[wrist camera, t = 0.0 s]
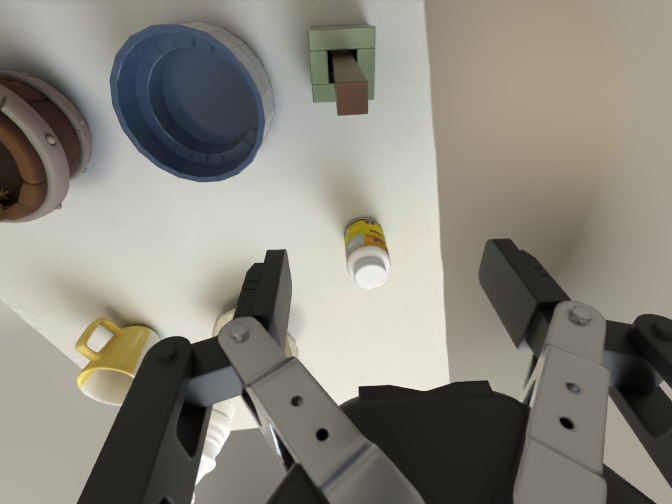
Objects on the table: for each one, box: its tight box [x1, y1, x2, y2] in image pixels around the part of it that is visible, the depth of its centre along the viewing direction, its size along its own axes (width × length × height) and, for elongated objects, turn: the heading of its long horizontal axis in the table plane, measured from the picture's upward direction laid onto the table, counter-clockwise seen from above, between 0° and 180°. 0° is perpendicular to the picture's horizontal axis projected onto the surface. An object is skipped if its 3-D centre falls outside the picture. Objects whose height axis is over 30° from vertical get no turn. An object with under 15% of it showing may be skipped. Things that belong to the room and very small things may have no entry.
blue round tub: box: [110, 22, 274, 182], centre depth 34 cm, size 14×14×8 cm
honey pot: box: [191, 399, 235, 504], centre depth 67 cm, size 13×13×18 cm
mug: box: [75, 318, 160, 405], centre depth 55 cm, size 14×10×10 cm
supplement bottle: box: [344, 218, 390, 289], centre depth 44 cm, size 6×6×10 cm
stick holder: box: [308, 24, 375, 103], centre depth 33 cm, size 6×6×6 cm
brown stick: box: [332, 49, 368, 116], centre depth 27 cm, size 2×2×20 cm
